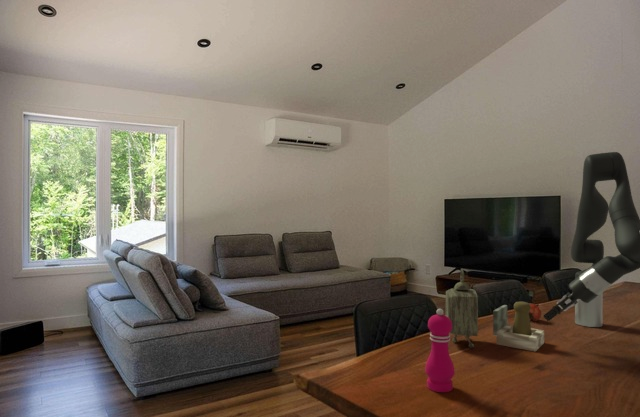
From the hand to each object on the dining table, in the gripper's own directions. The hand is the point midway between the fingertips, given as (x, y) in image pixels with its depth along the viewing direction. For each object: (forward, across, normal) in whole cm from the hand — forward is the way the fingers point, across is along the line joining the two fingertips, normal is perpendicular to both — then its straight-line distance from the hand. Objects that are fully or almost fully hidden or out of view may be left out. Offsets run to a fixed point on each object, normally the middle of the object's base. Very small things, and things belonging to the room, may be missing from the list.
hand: (548, 316), depth 145 cm
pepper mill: (+18, +52, -2) cm, 55 cm away
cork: (+11, 0, 0) cm, 11 cm away
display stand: (+14, 0, +1) cm, 14 cm away
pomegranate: (+17, -35, -2) cm, 39 cm away
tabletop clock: (+25, +12, -10) cm, 29 cm away
